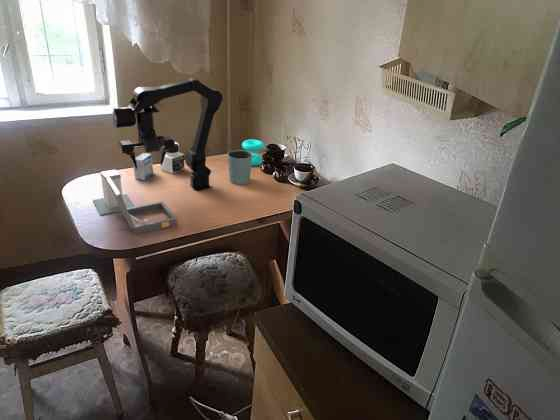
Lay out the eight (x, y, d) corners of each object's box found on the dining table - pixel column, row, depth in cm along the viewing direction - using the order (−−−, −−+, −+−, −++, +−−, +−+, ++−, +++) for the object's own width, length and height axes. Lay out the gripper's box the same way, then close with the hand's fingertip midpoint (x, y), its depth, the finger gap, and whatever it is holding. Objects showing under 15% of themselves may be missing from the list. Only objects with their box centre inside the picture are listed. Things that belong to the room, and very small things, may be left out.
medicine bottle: (173, 174, 183) (171, 147, 177) (160, 169, 186) (159, 143, 180) (184, 169, 188) (183, 143, 183) (172, 165, 191) (171, 139, 186)
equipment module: (118, 199, 158) (115, 169, 153) (123, 205, 155) (120, 174, 149) (104, 202, 155) (100, 171, 150) (109, 208, 152) (104, 177, 146)
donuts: (240, 138, 199) (261, 138, 201) (239, 159, 203) (260, 158, 206) (244, 146, 190) (266, 145, 193) (244, 167, 195) (265, 166, 198)
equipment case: (163, 207, 156) (160, 168, 149) (177, 225, 145) (175, 184, 138) (111, 217, 147) (105, 176, 140) (122, 238, 136) (116, 195, 129)
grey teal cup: (256, 180, 183) (257, 153, 177) (241, 188, 175) (242, 160, 170) (237, 174, 187) (237, 148, 182) (222, 181, 180) (222, 154, 174)
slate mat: (126, 195, 163) (126, 194, 162) (135, 208, 154) (135, 207, 154) (93, 201, 157) (92, 199, 157) (100, 215, 148) (100, 214, 148)
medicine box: (144, 180, 175) (143, 160, 171) (134, 178, 176) (132, 159, 172) (153, 173, 182) (152, 154, 178) (143, 171, 183) (142, 152, 179)
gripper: (124, 134, 140) (128, 178, 148) (179, 129, 149) (181, 170, 157) (115, 125, 148) (120, 167, 156) (168, 120, 158) (170, 160, 165)
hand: (148, 166), depth 158 cm, fingers open, 9 cm apart
